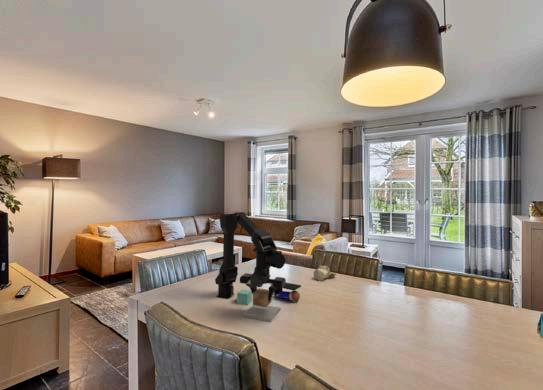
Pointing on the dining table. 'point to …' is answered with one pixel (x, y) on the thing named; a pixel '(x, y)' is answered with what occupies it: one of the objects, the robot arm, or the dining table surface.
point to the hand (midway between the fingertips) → (262, 300)
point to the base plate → (262, 313)
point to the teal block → (244, 297)
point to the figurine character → (291, 295)
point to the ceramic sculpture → (323, 273)
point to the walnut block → (261, 297)
